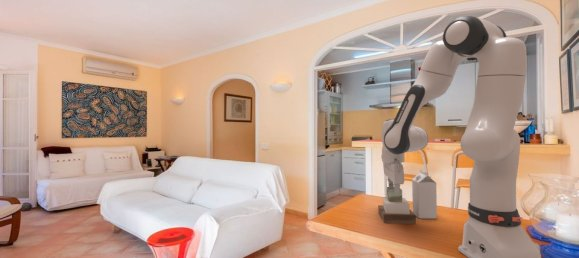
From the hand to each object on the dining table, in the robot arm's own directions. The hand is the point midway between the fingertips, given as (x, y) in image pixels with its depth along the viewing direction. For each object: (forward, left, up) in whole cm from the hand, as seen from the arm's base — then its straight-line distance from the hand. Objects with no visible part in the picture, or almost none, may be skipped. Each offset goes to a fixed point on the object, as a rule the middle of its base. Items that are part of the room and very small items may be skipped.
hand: (393, 190), depth 110 cm
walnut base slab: (-1, -1, -12) cm, 12 cm away
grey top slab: (-1, 0, -8) cm, 8 cm away
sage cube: (0, 0, -4) cm, 4 cm away
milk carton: (+3, -13, -12) cm, 18 cm away
